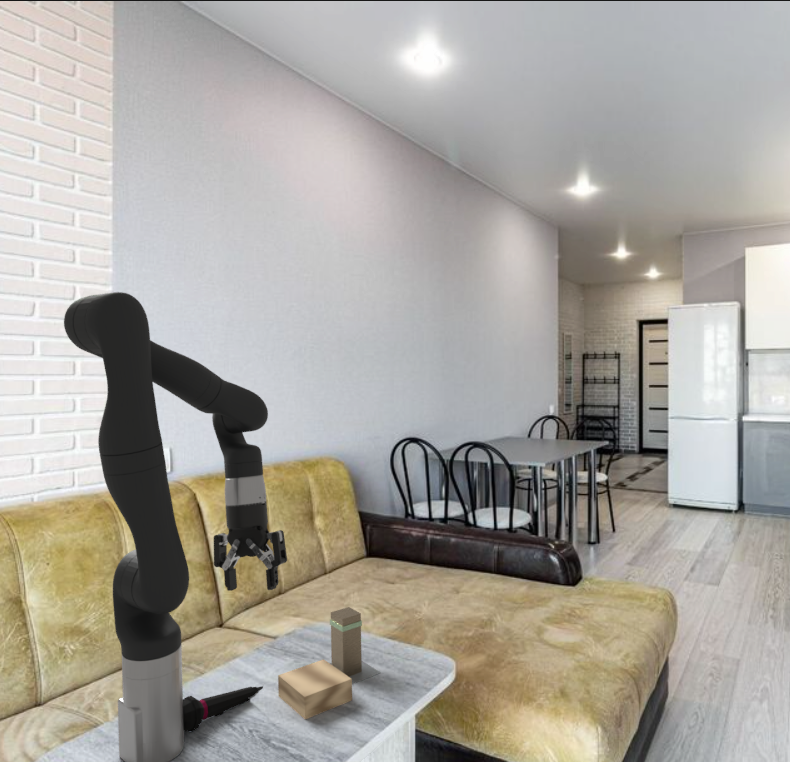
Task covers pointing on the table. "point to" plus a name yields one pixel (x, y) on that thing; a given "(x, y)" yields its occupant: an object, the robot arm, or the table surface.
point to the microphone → (213, 706)
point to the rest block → (314, 688)
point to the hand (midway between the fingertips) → (252, 589)
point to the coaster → (364, 673)
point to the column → (346, 641)
